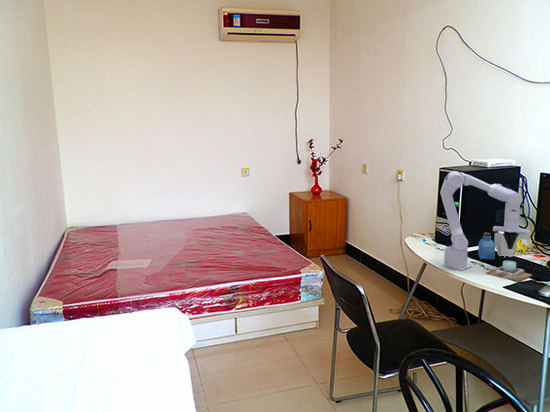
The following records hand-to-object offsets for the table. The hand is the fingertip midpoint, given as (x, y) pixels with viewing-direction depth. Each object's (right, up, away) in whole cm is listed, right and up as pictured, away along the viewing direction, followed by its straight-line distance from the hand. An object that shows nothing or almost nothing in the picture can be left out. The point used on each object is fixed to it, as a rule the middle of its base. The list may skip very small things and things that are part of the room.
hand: (510, 248), depth 194 cm
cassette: (+13, -4, +29) cm, 32 cm away
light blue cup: (-3, -10, -5) cm, 12 cm away
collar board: (-3, -11, -5) cm, 12 cm away
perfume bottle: (-1, -6, +19) cm, 20 cm away
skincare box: (+8, -6, +20) cm, 22 cm away
